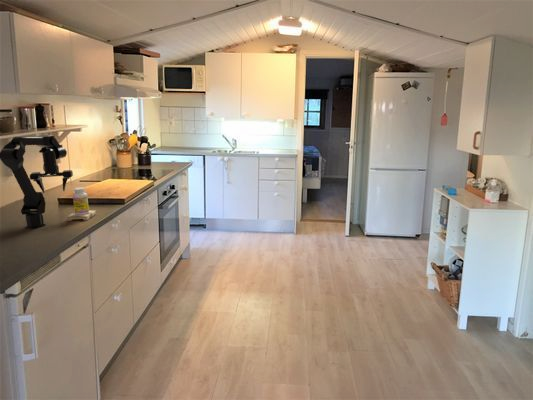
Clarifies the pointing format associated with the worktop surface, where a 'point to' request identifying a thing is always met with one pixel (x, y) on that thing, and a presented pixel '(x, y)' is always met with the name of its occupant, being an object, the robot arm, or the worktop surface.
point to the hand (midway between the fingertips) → (54, 191)
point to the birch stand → (84, 217)
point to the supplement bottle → (80, 201)
